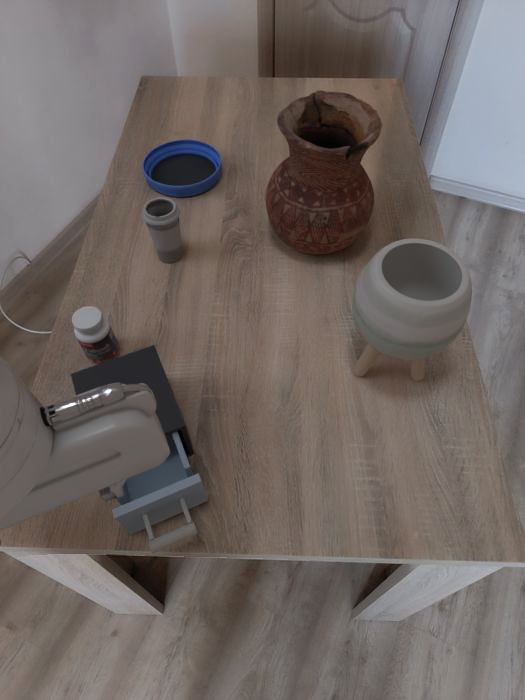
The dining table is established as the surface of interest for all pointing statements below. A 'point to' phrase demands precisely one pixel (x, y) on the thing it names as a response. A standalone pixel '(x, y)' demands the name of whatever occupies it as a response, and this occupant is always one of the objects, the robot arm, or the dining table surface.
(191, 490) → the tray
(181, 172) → the bowl
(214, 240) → the dining table surface
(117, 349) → the pill bottle
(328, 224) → the clay vase
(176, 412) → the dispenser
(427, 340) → the planter
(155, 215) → the cup
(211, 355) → the dining table surface
